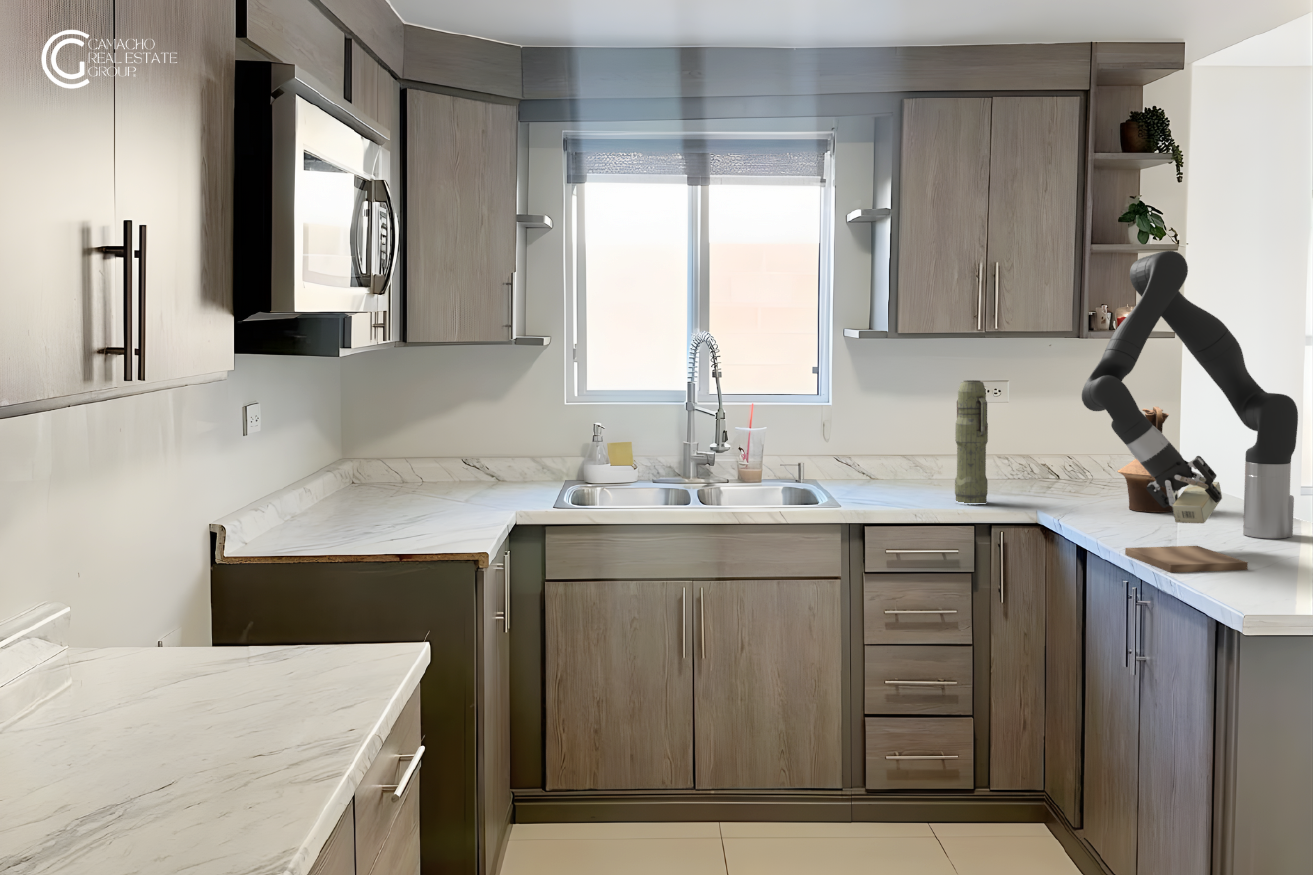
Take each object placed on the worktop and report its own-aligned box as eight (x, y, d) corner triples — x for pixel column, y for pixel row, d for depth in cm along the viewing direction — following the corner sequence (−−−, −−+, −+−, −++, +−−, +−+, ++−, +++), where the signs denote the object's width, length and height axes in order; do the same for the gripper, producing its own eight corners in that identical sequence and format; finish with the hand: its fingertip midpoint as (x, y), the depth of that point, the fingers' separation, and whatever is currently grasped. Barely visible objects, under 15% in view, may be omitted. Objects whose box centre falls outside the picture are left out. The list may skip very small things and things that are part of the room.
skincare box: (1171, 505, 234) (1189, 480, 242) (1175, 523, 235) (1192, 498, 243) (1202, 506, 230) (1219, 480, 237) (1206, 524, 231) (1222, 498, 239)
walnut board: (1196, 552, 234) (1196, 545, 234) (1247, 569, 216) (1247, 562, 216) (1125, 554, 233) (1125, 547, 233) (1170, 572, 215) (1170, 564, 215)
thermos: (967, 499, 316) (968, 379, 313) (997, 504, 306) (998, 380, 303) (944, 501, 312) (945, 380, 309) (973, 506, 302) (974, 381, 299)
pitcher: (1194, 515, 281) (1197, 408, 278) (1124, 514, 284) (1126, 408, 282) (1176, 505, 298) (1178, 404, 296) (1110, 504, 301) (1112, 404, 299)
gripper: (1185, 427, 235) (1236, 486, 234) (1133, 458, 246) (1182, 514, 244) (1174, 442, 230) (1227, 502, 229) (1121, 472, 241) (1171, 530, 239)
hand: (1203, 508), depth 236 cm, fingers closed on skincare box, 7 cm apart
